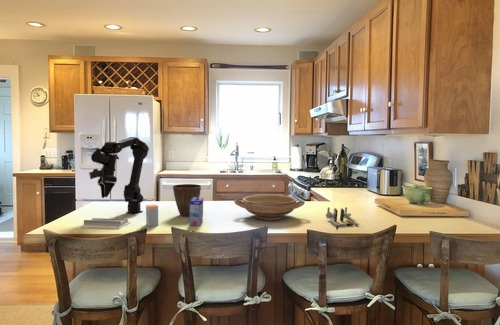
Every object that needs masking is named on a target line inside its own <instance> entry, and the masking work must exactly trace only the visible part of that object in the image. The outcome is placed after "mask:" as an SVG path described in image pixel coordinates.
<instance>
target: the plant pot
mask: <svg viewBox="0 0 500 325" xmlns="http://www.w3.org/2000/svg"><path fill="white" fill-rule="evenodd" d="M172 189H173V196H174V201H175V204H176V207H177V211H178V212H179V215H180V216H181V217H190V200H191V199H192V198H197V197H198V196H199V194H200V195H201V189H202V185H201V184H196V183H195V184H193V183H183V184H182V183H181V184H175V185H173V186H172ZM198 198H200V196H199V197H198Z"/></svg>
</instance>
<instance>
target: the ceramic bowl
mask: <svg viewBox="0 0 500 325" xmlns="http://www.w3.org/2000/svg"><path fill="white" fill-rule="evenodd" d="M233 202H234V204H235V205H236V206H238V207H240V208H242V209H245V210H246V211H247V212H248V213H250V214H252V215H255V216H256V217H257V219H260V220H263V221H264V220H265V221H275V220H276V221H277V220H281V219H282V218H283V216H286V215H288V214H291V213H292V212H294V210H296V209H298V208H300V207H302V206H304V205H305V200H302V199H301V200H299V201H298V199H297V198H295V197H294V196H290V195H284V194H269V193H268V194H254V195H253V194H252V195H248V196H244V197H243V198H242V200H239V199H234V200H233Z"/></svg>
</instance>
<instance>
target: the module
mask: <svg viewBox="0 0 500 325" xmlns="http://www.w3.org/2000/svg"><path fill="white" fill-rule="evenodd" d="M145 217H146V218H145V221H146V224H145V225H146V226H147V225H148V227H149V226H151V227H156V226H155V225H158V226H159V206H158V204H146V205H145Z"/></svg>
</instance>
